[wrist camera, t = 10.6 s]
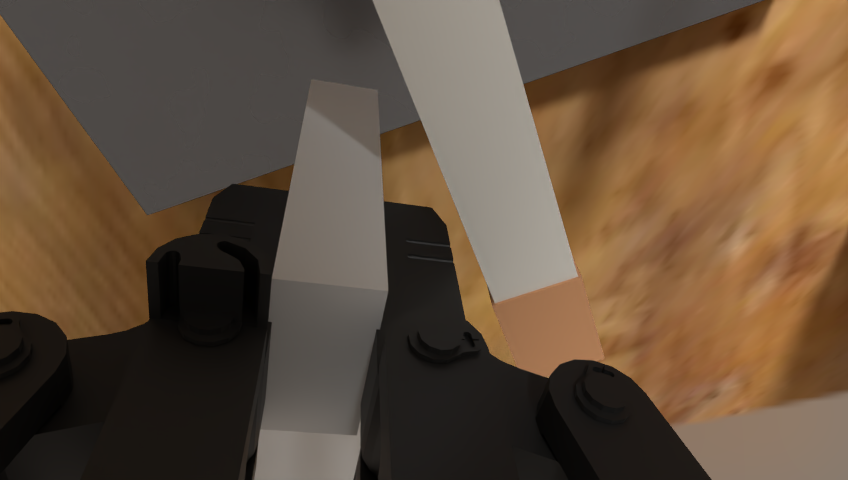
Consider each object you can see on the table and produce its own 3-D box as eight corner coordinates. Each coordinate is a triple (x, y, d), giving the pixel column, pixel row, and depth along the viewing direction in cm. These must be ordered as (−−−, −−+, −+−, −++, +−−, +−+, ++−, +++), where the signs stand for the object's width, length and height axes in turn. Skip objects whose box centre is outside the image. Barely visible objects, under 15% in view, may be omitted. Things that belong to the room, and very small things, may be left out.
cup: (390, 362, 28) (395, 498, 22) (178, 398, 28) (131, 540, 23) (351, 224, 23) (345, 350, 18) (100, 268, 24) (18, 405, 18)
